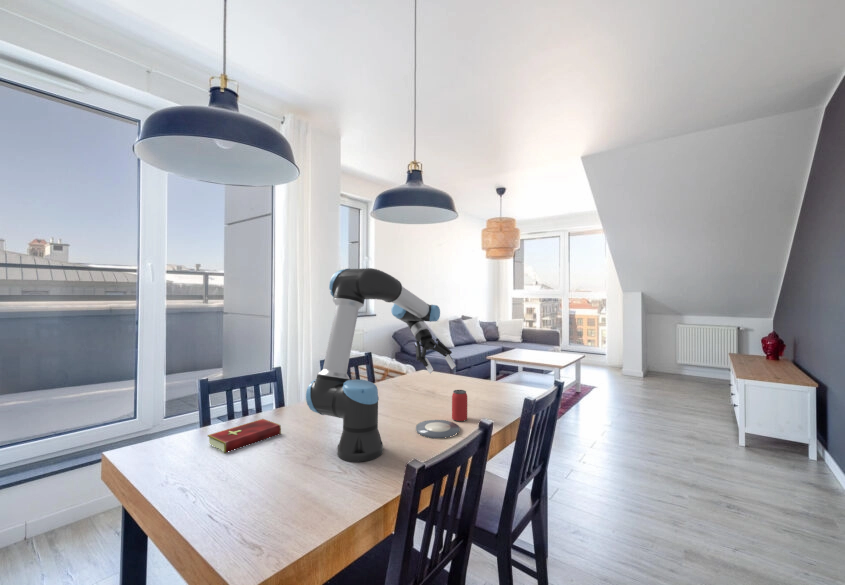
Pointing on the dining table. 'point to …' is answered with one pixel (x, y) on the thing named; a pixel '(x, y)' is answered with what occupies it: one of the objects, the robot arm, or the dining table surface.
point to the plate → (437, 428)
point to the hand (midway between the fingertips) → (443, 369)
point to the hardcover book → (244, 434)
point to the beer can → (459, 405)
